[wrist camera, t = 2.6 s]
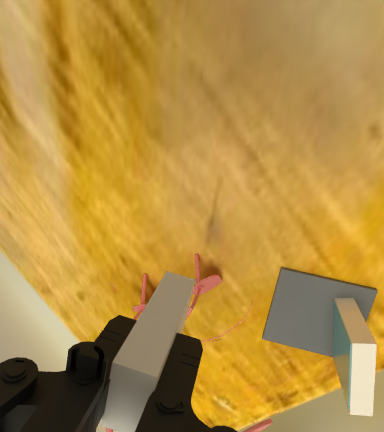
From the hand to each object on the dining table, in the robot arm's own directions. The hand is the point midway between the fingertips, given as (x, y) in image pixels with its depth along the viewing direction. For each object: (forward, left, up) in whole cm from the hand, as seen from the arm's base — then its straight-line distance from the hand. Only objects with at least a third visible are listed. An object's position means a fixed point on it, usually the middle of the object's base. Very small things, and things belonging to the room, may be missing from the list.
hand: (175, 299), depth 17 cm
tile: (+18, +20, -31) cm, 41 cm away
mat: (+17, +16, -31) cm, 39 cm away
